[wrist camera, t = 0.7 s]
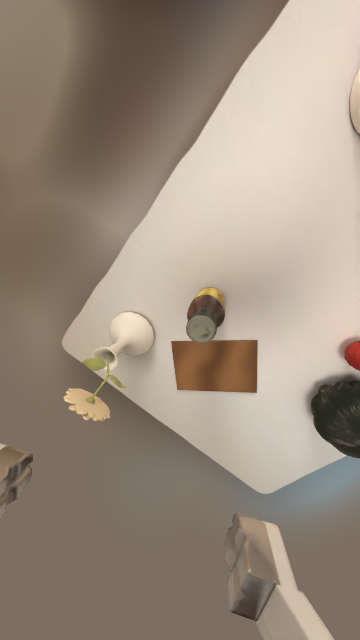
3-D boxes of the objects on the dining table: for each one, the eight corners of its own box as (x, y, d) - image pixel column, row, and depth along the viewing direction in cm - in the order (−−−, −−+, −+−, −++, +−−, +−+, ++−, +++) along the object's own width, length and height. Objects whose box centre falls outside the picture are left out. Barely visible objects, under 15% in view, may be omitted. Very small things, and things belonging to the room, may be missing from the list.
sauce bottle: (223, 313, 46) (224, 357, 28) (196, 313, 47) (179, 354, 29) (225, 284, 44) (226, 310, 26) (195, 284, 45) (177, 309, 27)
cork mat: (257, 340, 47) (257, 340, 46) (256, 391, 51) (256, 392, 51) (171, 341, 51) (171, 341, 51) (177, 389, 55) (177, 389, 55)
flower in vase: (104, 325, 53) (13, 385, 30) (136, 301, 49) (60, 348, 26) (136, 364, 55) (73, 447, 32) (168, 344, 51) (124, 422, 28)
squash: (410, 444, 42) (453, 462, 30) (329, 456, 47) (337, 475, 35) (366, 375, 48) (386, 366, 36) (299, 392, 54) (297, 390, 42)
